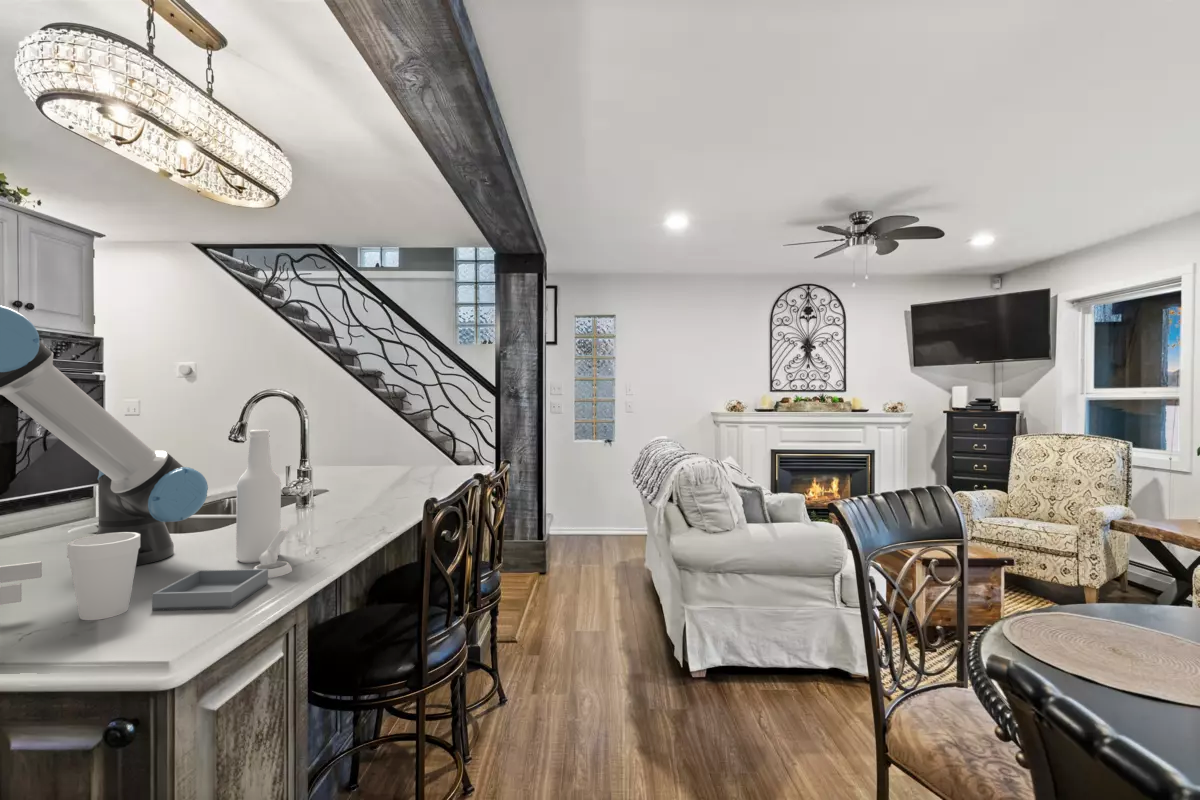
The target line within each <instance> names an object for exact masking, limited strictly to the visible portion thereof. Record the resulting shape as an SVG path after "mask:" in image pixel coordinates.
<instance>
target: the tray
mask: <svg viewBox="0 0 1200 800" xmlns="http://www.w3.org/2000/svg"><path fill="white" fill-rule="evenodd" d="M268 579H269V578H268V569H254V568H250V569H249V568H248V569H247V568H243V569H242V568H241V569H238V568H237V569H201V570H200V569H198V570H196V571H194V572H192V573H190V574H188V575H186V576H184V577H182V578H180V579H178V580H177V581H175V582H172V583H171V584H169V585H167V586H165V587H163V588H161V589H159V590H156V591H155V592H153V593H152V594H151V595H152V596H151V611H152V612H154V611H155V612H157V611H191V610H192V611H193V610H195V611H197V610H224V609H225V610H228V609H230V610H231V609H233V608H235V607H236V606H238V605H239V604H241V603H242V602H243V601H245V600H246V599H248V598H249V597H250V596H252V595H254V594H255V593H256V592H258V591H259V590H261V589H262V588H264V587H265V586H266V585H268V583H269V580H268Z"/></svg>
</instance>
